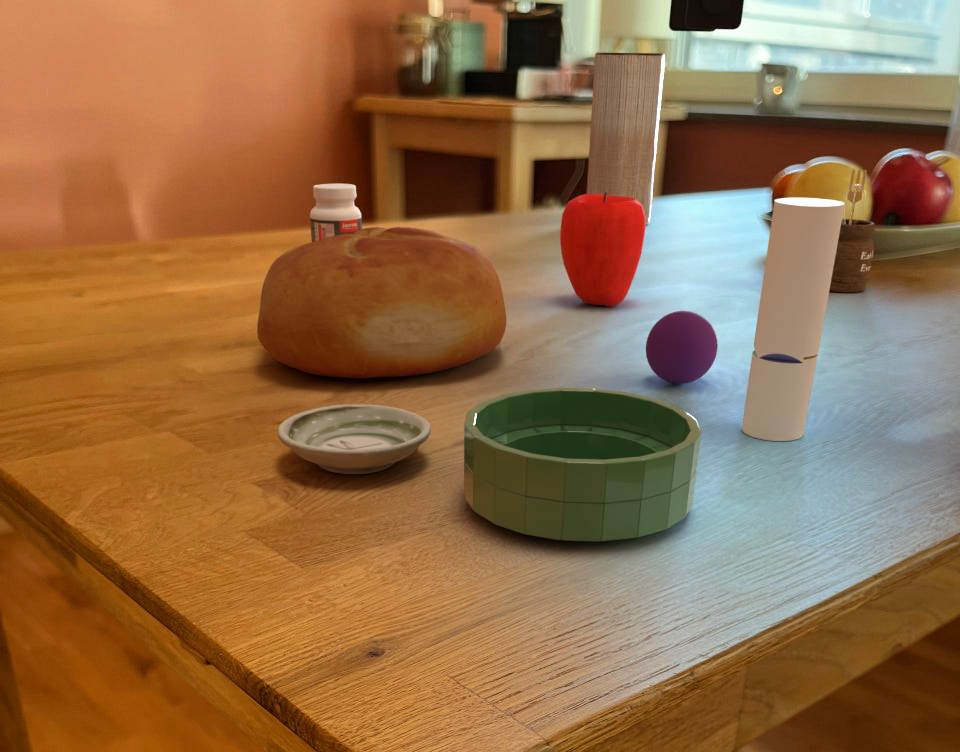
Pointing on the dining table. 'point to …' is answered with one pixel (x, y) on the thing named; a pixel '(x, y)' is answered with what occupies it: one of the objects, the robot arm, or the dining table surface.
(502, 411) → the bowl
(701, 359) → the ball
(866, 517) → the dining table surface
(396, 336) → the bread
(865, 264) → the utensil holder
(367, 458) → the saucer
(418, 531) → the dining table surface
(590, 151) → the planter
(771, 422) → the tube
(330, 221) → the pill bottle
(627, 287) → the apple
